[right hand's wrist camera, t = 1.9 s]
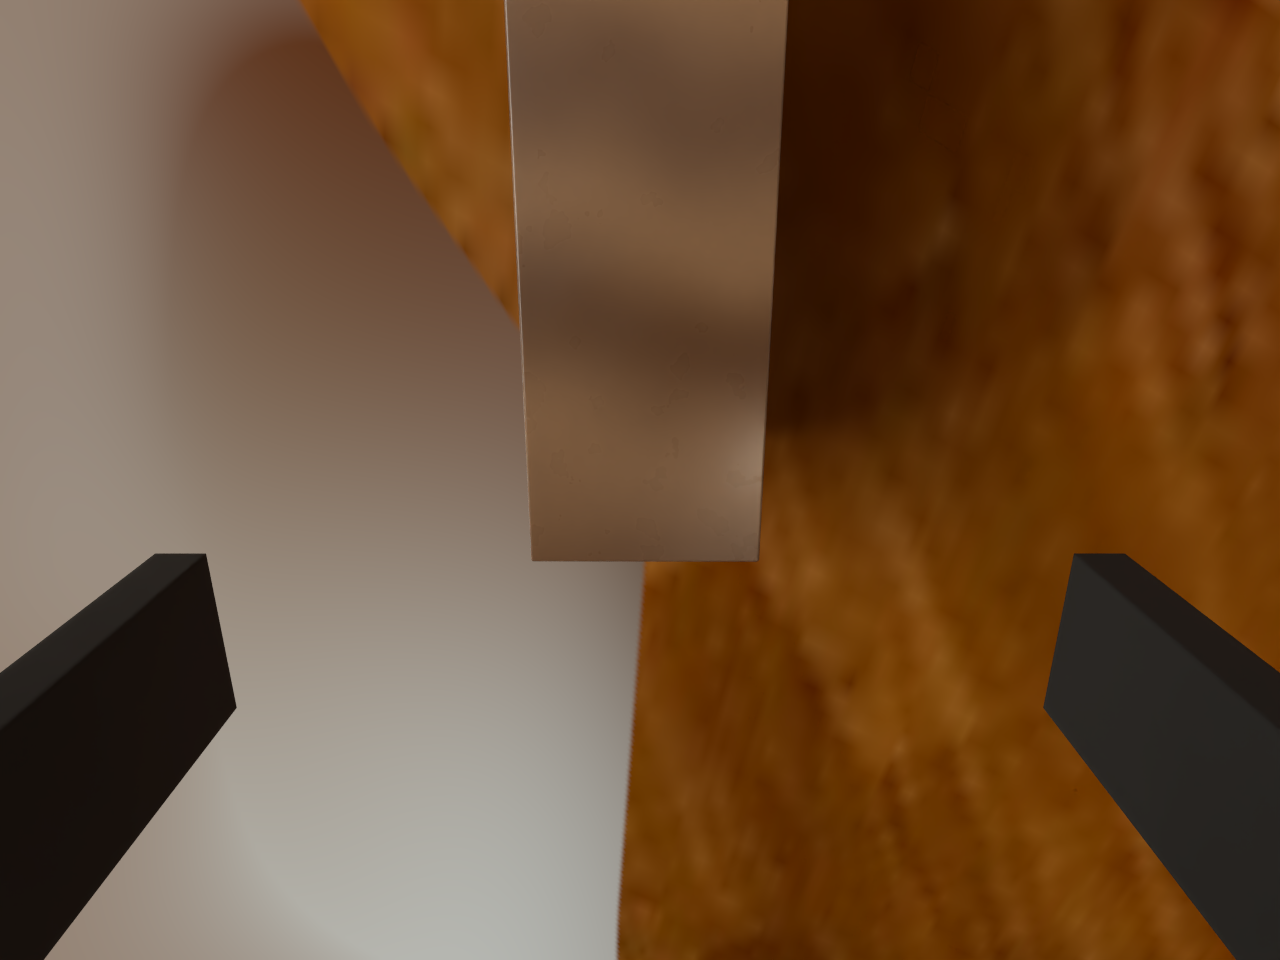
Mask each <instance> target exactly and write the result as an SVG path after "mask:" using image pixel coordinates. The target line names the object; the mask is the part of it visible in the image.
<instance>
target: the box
mask: <svg viewBox="0 0 1280 960" xmlns="http://www.w3.org/2000/svg"><path fill="white" fill-rule="evenodd" d="M788 4H789V0H504V12H505V32H506V53H507V73H508V94H509V114H510V135H511V155H512V176H513V196H514V217H515V237H516V258H517V278H518V299H519V319H520V340H521V360H522V380H523V401H524V421H525V442H526V463H527V483H528V504H529V524H530V544H531V560H532V561H758V560H759V550H760V531H761V512H762V494H763V475H764V456H765V437H766V418H767V399H768V381H769V362H770V343H771V324H772V305H773V287H774V268H775V249H776V230H777V211H778V192H779V174H780V155H781V136H782V117H783V98H784V80H785V61H786V42H787V23H788Z"/></svg>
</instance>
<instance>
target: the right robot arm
mask: <svg viewBox="0 0 1280 960" xmlns="http://www.w3.org/2000/svg"><path fill="white" fill-rule="evenodd" d="M1043 708H1044V709H1045V710H1046V712H1047V713H1048V714H1049V716H1050V717H1051V718H1052V720H1053V721H1054V722H1055V723H1056V725H1057V726H1058V727H1059V729H1060V730H1061V731H1062V733H1063V734H1064V735H1065V737H1066V738H1067V739H1068V740H1069V742H1070V743H1071V744H1072V746H1073V747H1074V748H1075V750H1076V751H1077V752H1078V754H1079V755H1080V756H1081V757H1082V759H1083V760H1084V761H1085V763H1086V764H1087V765H1088V767H1089V768H1090V769H1091V771H1092V772H1093V773H1094V774H1095V776H1096V777H1097V778H1098V780H1099V781H1100V782H1101V784H1102V785H1103V786H1104V788H1105V789H1106V790H1107V791H1108V793H1109V794H1110V795H1111V797H1112V798H1113V799H1114V801H1115V802H1116V803H1117V805H1118V806H1119V807H1120V808H1121V810H1122V811H1123V812H1124V814H1125V815H1126V816H1127V818H1128V819H1129V820H1130V821H1131V823H1132V824H1133V825H1134V827H1135V828H1136V829H1137V831H1138V832H1139V833H1140V835H1141V836H1142V837H1143V838H1144V840H1145V841H1146V842H1147V844H1148V845H1149V846H1150V848H1151V849H1152V850H1153V852H1154V853H1155V854H1156V855H1157V857H1158V858H1159V859H1160V861H1161V862H1162V863H1163V865H1164V866H1165V867H1166V869H1167V870H1168V871H1169V872H1170V874H1171V875H1172V876H1173V878H1174V879H1175V880H1176V882H1177V883H1178V884H1179V886H1180V887H1181V888H1182V889H1183V891H1184V892H1185V893H1186V895H1187V896H1188V897H1189V899H1190V900H1191V901H1192V903H1193V904H1194V905H1195V906H1196V908H1197V909H1198V910H1199V912H1200V913H1201V914H1202V916H1203V917H1204V918H1205V920H1206V921H1207V922H1208V923H1209V925H1210V926H1211V927H1212V929H1213V930H1214V931H1215V933H1216V934H1217V935H1218V936H1219V938H1220V939H1221V940H1222V942H1223V943H1224V944H1225V946H1226V947H1227V948H1228V950H1229V951H1230V952H1231V953H1232V955H1233V956H1234V957H1235V959H1236V960H1280V673H1279V672H1278V671H1277V670H1275V669H1274V668H1273V667H1271V666H1270V665H1269V664H1267V663H1266V662H1265V661H1264V660H1262V659H1261V658H1260V657H1258V656H1257V655H1256V654H1254V653H1253V652H1252V651H1251V650H1249V649H1248V648H1247V647H1245V646H1244V645H1243V644H1241V643H1240V642H1239V641H1238V640H1236V639H1235V638H1234V637H1232V636H1231V635H1230V634H1228V633H1227V632H1226V631H1225V630H1223V629H1222V628H1221V627H1219V626H1218V625H1217V624H1215V623H1214V622H1213V621H1212V620H1210V619H1209V618H1208V617H1206V616H1205V615H1204V614H1202V613H1201V612H1200V611H1199V610H1197V609H1196V608H1195V607H1193V606H1192V605H1191V604H1190V603H1188V602H1187V601H1186V600H1184V599H1183V598H1182V597H1180V596H1179V595H1178V594H1177V593H1175V592H1174V591H1173V590H1171V589H1170V588H1169V587H1167V586H1166V585H1165V584H1164V583H1162V582H1161V581H1160V580H1158V579H1157V578H1156V577H1154V576H1153V575H1152V574H1151V573H1149V572H1148V571H1147V570H1145V569H1144V568H1143V567H1141V566H1140V565H1139V564H1138V563H1136V562H1135V561H1134V560H1132V559H1131V558H1130V557H1128V556H1127V555H1126V554H1074V557H1073V562H1072V567H1071V572H1070V577H1069V582H1068V587H1067V592H1066V597H1065V602H1064V607H1063V612H1062V617H1061V622H1060V627H1059V632H1058V637H1057V642H1056V647H1055V652H1054V657H1053V662H1052V667H1051V672H1050V677H1049V682H1048V687H1047V692H1046V697H1045V702H1044V707H1043ZM235 709H236V702H235V697H234V692H233V687H232V682H231V677H230V672H229V667H228V662H227V657H226V652H225V647H224V642H223V637H222V632H221V627H220V622H219V617H218V612H217V607H216V602H215V597H214V592H213V587H212V582H211V577H210V572H209V567H208V562H207V557H206V554H154V555H153V556H152V557H150V558H149V559H148V560H146V561H145V562H144V563H142V564H141V565H140V566H139V567H137V568H136V569H135V570H133V571H132V572H131V573H130V574H128V575H127V576H126V577H124V578H123V579H122V580H120V581H119V582H118V583H116V584H115V585H114V586H113V587H111V588H110V589H109V590H107V591H106V592H105V593H103V594H102V595H101V596H100V597H98V598H97V599H96V600H94V601H93V602H92V603H91V604H89V605H88V606H87V607H85V608H84V609H83V610H81V611H80V612H79V613H78V614H76V615H75V616H74V617H72V618H71V619H70V620H68V621H67V622H66V623H65V624H63V625H62V626H61V627H59V628H58V629H57V630H55V631H54V632H53V633H52V634H50V635H49V636H48V637H46V638H45V639H44V640H42V641H41V642H40V643H39V644H37V645H36V646H35V647H33V648H32V649H31V650H29V651H28V652H27V653H26V654H24V655H23V656H22V657H20V658H19V659H18V660H16V661H15V662H14V663H13V664H11V665H10V666H9V667H7V668H6V669H5V670H3V671H2V672H1V673H0V960H44V959H45V957H46V956H47V955H48V953H49V952H50V951H51V950H52V948H53V947H54V946H55V944H56V943H57V942H58V940H59V939H60V938H61V936H62V935H63V934H64V933H65V931H66V930H67V929H68V927H69V926H70V925H71V923H72V922H73V921H74V920H75V918H76V917H77V916H78V914H79V913H80V912H81V910H82V909H83V908H84V906H85V905H86V904H87V903H88V901H89V900H90V899H91V897H92V896H93V895H94V893H95V892H96V891H97V889H98V888H99V887H100V886H101V884H102V883H103V882H104V880H105V879H106V878H107V876H108V875H109V874H110V872H111V871H112V870H113V868H114V867H115V866H116V865H117V863H118V862H119V861H120V859H121V858H122V857H123V855H124V854H125V853H126V852H127V850H128V849H129V848H130V846H131V845H132V844H133V842H134V841H135V840H136V838H137V837H138V836H139V835H140V833H141V832H142V831H143V829H144V828H145V827H146V825H147V824H148V823H149V821H150V820H151V819H152V818H153V816H154V815H155V814H156V812H157V811H158V810H159V808H160V807H161V806H162V804H163V803H164V802H165V801H166V799H167V798H168V797H169V795H170V794H171V793H172V791H173V790H174V789H175V787H176V786H177V785H178V784H179V782H180V781H181V780H182V778H183V777H184V776H185V774H186V773H187V772H188V771H189V769H190V768H191V767H192V765H193V764H194V763H195V761H196V760H197V759H198V757H199V756H200V755H201V754H202V752H203V751H204V750H205V748H206V747H207V746H208V744H209V743H210V742H211V740H212V739H213V738H214V737H215V735H216V734H217V733H218V731H219V730H220V729H221V727H222V726H223V725H224V723H225V722H226V721H227V720H228V718H229V717H230V716H231V714H232V713H233V712H234V710H235Z"/></svg>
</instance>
